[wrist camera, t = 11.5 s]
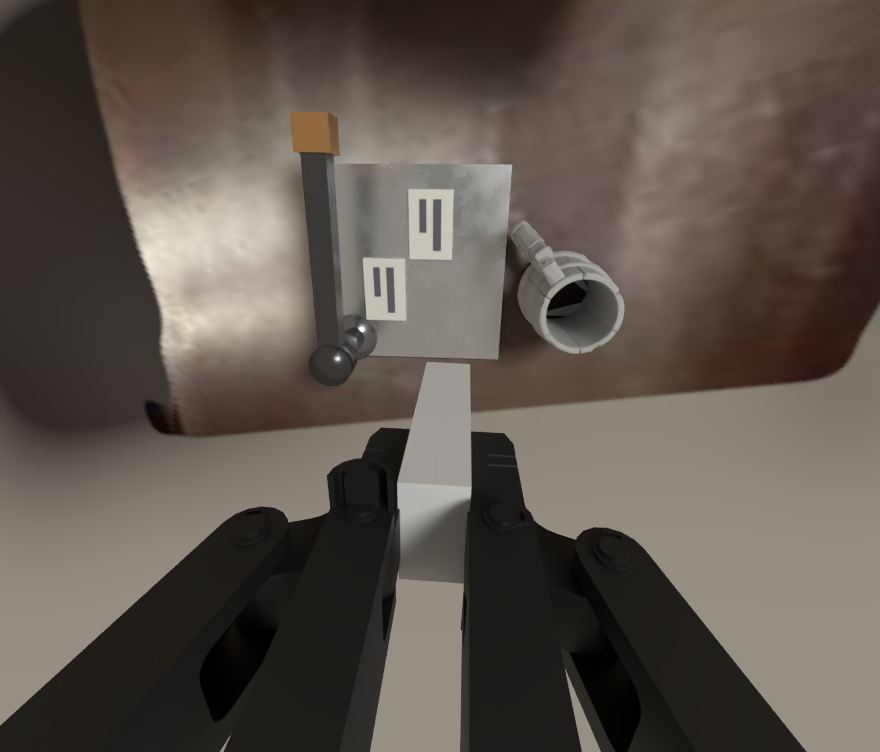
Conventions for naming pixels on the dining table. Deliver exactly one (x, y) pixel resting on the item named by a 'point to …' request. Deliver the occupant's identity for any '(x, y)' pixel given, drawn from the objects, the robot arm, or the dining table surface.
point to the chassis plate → (428, 281)
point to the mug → (551, 273)
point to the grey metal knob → (360, 335)
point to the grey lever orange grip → (323, 242)
